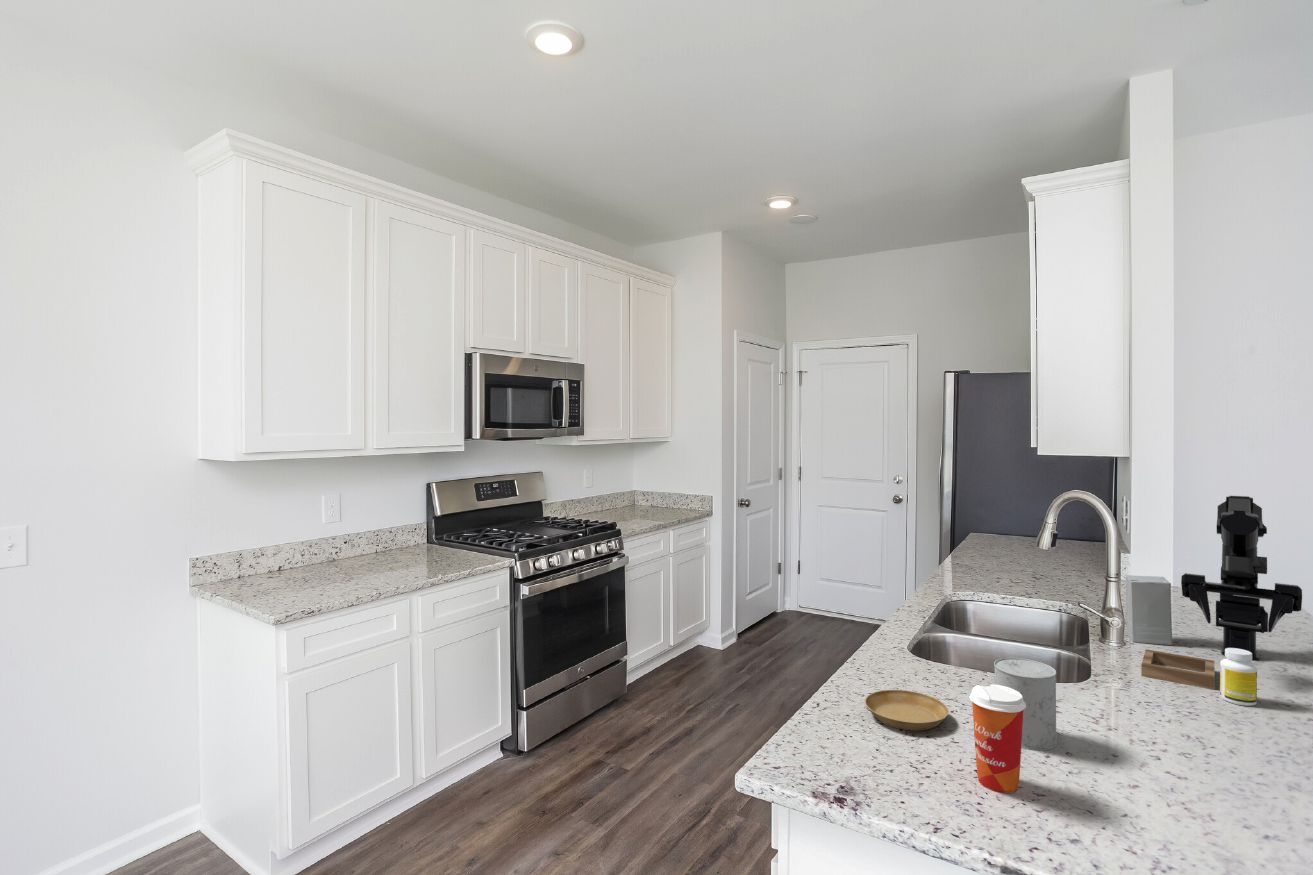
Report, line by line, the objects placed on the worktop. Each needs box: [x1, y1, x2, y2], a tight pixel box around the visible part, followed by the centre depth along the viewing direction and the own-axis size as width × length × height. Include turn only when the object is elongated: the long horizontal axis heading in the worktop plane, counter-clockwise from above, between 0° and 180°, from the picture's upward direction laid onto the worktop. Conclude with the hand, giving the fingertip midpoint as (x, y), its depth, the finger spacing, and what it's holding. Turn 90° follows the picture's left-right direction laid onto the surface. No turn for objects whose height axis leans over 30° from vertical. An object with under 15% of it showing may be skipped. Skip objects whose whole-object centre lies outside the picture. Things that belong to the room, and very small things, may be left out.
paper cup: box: [969, 683, 1026, 794], centre depth 101 cm, size 8×8×14 cm
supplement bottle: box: [1219, 648, 1258, 707], centre depth 128 cm, size 5×5×10 cm
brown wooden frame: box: [1140, 648, 1216, 691], centre depth 142 cm, size 12×12×2 cm
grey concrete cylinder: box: [993, 657, 1058, 751], centre depth 115 cm, size 10×10×12 cm
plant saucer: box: [864, 689, 950, 732], centre depth 124 cm, size 15×15×3 cm
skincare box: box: [1125, 574, 1173, 646], centre depth 163 cm, size 8×7×16 cm
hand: (1238, 626), depth 133 cm, fingers open, 9 cm apart
